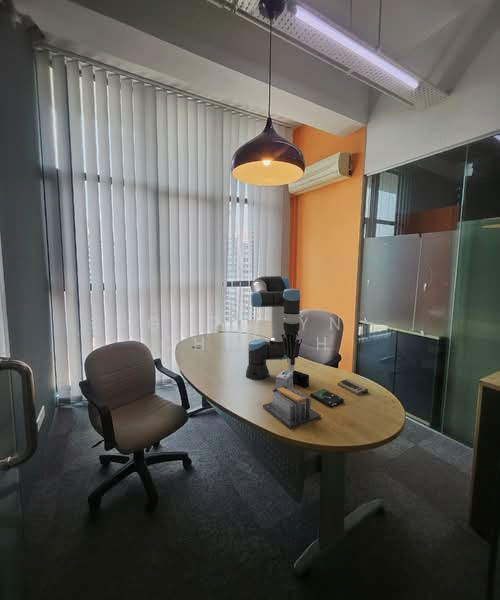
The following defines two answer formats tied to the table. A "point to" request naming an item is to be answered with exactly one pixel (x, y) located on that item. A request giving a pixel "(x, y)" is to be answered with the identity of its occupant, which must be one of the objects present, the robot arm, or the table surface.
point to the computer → (353, 387)
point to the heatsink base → (291, 422)
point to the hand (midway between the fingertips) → (291, 370)
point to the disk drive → (327, 398)
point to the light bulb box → (284, 380)
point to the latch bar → (291, 395)
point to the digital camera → (300, 379)
